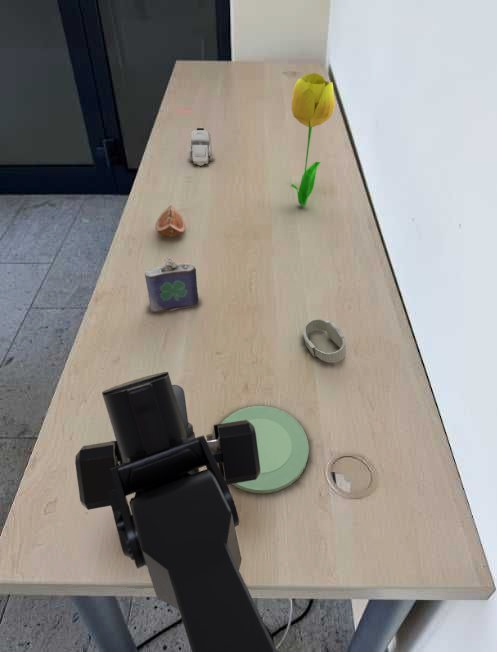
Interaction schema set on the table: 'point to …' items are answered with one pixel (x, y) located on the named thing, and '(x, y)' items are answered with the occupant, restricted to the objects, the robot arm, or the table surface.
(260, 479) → the plate
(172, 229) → the fruit slice
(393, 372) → the table surface
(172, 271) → the flask
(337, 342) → the wristwatch
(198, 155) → the white toy car
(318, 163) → the flower
